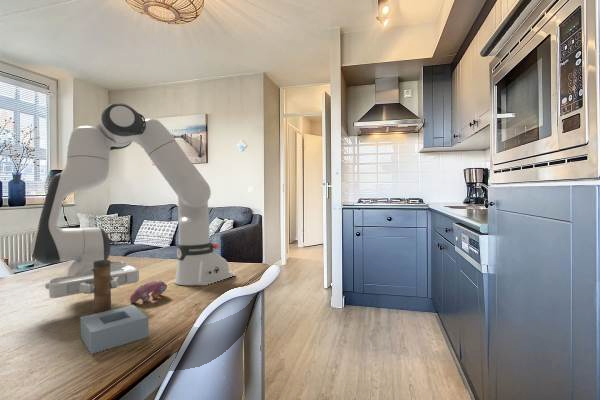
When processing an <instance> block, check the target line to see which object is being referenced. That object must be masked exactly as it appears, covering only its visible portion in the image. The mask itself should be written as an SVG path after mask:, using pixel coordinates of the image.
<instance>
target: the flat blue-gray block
mask: <svg viewBox="0 0 600 400" xmlns="http://www.w3.org/2000/svg"><path fill="white" fill-rule="evenodd" d="M149 321H150V320H149V315H147V314H145V313H144V312H143V311H142V310H140V309H139V308H137V306H136V305H134V304H132V305H128V306H124V307H118V308H114V309H111V310H109V311H105V312H101V313H96V314H94V313H93V314H89V315H83V316H81V317H80V339H81V340H82V342H83V343H84V345H85V347H86V349H87V350H88V352H89V351H90V352H89V354H90V353H91V354H90V355H94V354H93V353H95V354H97V353H96V352H98V353H100V352H99V351H101V352H104V351H107V350H106V349H108V350H111V349H113V347H114V348H117V347H120V346H123V345H126V344H129V343H132V342H137V341H139V340H143V339H146V338H148V337H150V332H149V331H150V330H149V329H150V327H149V323H150V322H149ZM116 346H117V347H116ZM110 348H111V349H110ZM103 350H104V351H103Z"/></svg>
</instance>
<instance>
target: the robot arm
mask: <svg viewBox="0 0 600 400" xmlns="http://www.w3.org/2000/svg"><path fill="white" fill-rule="evenodd" d="M104 108H105V109H103V111H102V113H101V117H100V119H99V122H98V124H97V125H96V126H90V125H82V126H81V125H80V126H77V127H76V128H74V129H73V130H72V132H71V134H70V137H69V141H68V146H67V152H66V164H65V167H64V168H63V170H62V171H61V172H59V173H56V174H54V176H53V177H52V179H51V181H50V184H49V185H48V190H47V193H46V195H45V199H44V203H43V206H42V211H41V213H40V218H39V221H38V225H37V228H36V231H35V233H34V235H33V237H32V240H31V242H30V247H29V248H30V249H29V250H30V255H31V257H32V259H34V260H35V261H37V262H39V263H41V264H43V265H49V264H57V263H60V262H68V264H67V267H66V275H65V276H62V277H60V276H59V277H55V278H52V279H51V280H50V281H49V283H45V285H44V288H45V289H46V290H48V291H49V293H48V295H49V298H50V299H51V298H52V299H57V298H58V299H59V298H63V297H69V296H72V295H79V294H88V295H91V294H94V292H95V285H94V262H95V261H99V260H109V257H110V253H111V238H110V237H109V235H108V233H107V232H106V230H104V229H103V228H101V227H100V226H99V227H97V226H96V227H92V226H91V227H86V226H85V227H65V228H63V227H58V226H57V224H58V220H59V217H60V212H61V210H62V205H63V202H64V200H65V199H66V198H67V197H68V196H71V195H73V194H75V193H79V192H84V191H88V190H92V189H93V188H96V187H99V186H100V185H102V184H104V182H105V181H106V180H107V179H108V177H109V172H110V151H114V150H122V149H125V148H128V147H129V146H130V145H132V143H133V142H134V143H136V144H137V145H139V146H140V147H141V149H143V150H144V152H145V153H146V155H147V156H148V157H149V159H150V160H151V161H152V162H153V164H154V166H155V167H156V169H157V170H158V171H159V172H160V174H161V175H162V177H163V178H164V179H165V180H166V182H167V183H168V185H169V186H170V188H171V189H172V190H173V192H174V193H175V194H176V195H177V201H178V202H177V205H178V206H177V207H178V211H177V212H178V213H177V215H178V218H177V220H178V243H177V246H176V248H177V250H176V254H177V255H176V256H177V268H176V273H175V277H174V281H173V283H174V284H175V285H180V286H209V285H212V284H215V283H214V282H216V283H218V282H217V281H219V282H221V281H220V280H222V281H224V280H223V279H226V278H229V277H232V276H235V277H236V273H235V272H234V271H232V270H230V267H229V263H228V260H227V259H225V258H224V257H222V256H220V254H218V252H217V253H216V252H215V250H218V248H219V244H218V243H215V242H214V243H212V242H210V217H209V204H208V203H209V200H210V198H211V194H212V191H211V187H210V185H209V183H208V182H207V181H206V179H205V178H204V176H203V174H201V172H200V171H199V170H198V169H197V167H196V166H195V164H194V163H193V162H192V161H191V160H190V158H189V157H188V156H187V154H186V153H185V152H184V150H183V148H182V147H181V145H179V143H178V141H177V140H176V138H175V137H174V136H173V134H172V133H171V132H170V131H169V130H168V128H167V127H166V126H165V125H164V124H162V123H161V122H160V120H158V119H156V118H146V119H145V117H144V115H143V114H141V113H139V112H137V111H136V110H135V109H134V108H133V107H132V106H129V104H126V103H121V102H116V103H115V102H114V103H112V104H109V105H108V106H106V107H104ZM110 275H111V289H117V288H118V287H120V286H125V285H130V284H136V283H139V280H140V271H139V268H137V267H135V266H133V265H130V264H127V263H126V261H110ZM232 278H233V277H232ZM229 279H230V278H229ZM226 280H227V279H226ZM211 283H212V284H211ZM208 284H209V285H208Z"/></svg>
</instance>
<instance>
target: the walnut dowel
mask: <svg viewBox="0 0 600 400" xmlns="http://www.w3.org/2000/svg"><path fill="white" fill-rule="evenodd" d="M110 262H111V260H110V259H107V260H99V261H95V262H94V285H95V292H94V293H93V301H94V303H93V310H94V311H93V312H94V313H93V314H96V313H101V312H105V311H109V310H112V290H111V275H110Z"/></svg>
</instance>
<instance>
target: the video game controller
mask: <svg viewBox="0 0 600 400" xmlns="http://www.w3.org/2000/svg"><path fill="white" fill-rule="evenodd" d="M167 289H168V285H167V284H166V283H165V282H164V281H162V280H159V281H157V280H155V281H149V282H147V283H146V284H141V285H139V287H137V288H136V289H135V291H134V292H133V293H132V294H131V295H130V297H129V302H130V303H132V304H133V303H134V304H135V303H137V302H138V301H139V300H142V302H143V303H146V302H148V301H149V300H150V298H152V299H153V300H155V299H157V298H159V296H160V295H162V294H163V293H164V292H165V291H166V290H167Z"/></svg>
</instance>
